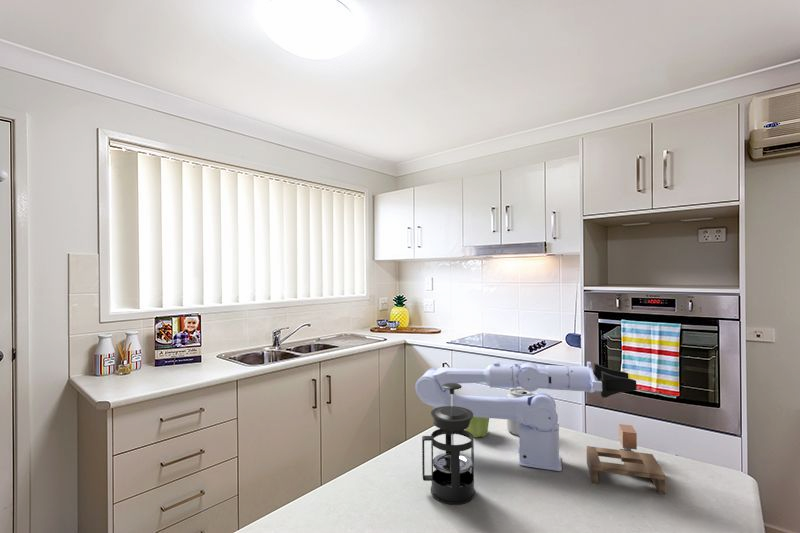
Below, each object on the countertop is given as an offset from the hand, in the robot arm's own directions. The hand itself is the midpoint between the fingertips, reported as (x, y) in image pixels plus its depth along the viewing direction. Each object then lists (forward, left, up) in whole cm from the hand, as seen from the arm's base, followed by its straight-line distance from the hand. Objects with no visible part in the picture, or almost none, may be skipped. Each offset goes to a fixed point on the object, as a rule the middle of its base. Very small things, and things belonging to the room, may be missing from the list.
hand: (631, 381), depth 93 cm
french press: (-38, -20, -22) cm, 48 cm away
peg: (+1, +9, -21) cm, 23 cm away
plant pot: (-37, +12, -22) cm, 45 cm away
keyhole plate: (-2, -2, -21) cm, 22 cm away
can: (-25, +17, -22) cm, 37 cm away
